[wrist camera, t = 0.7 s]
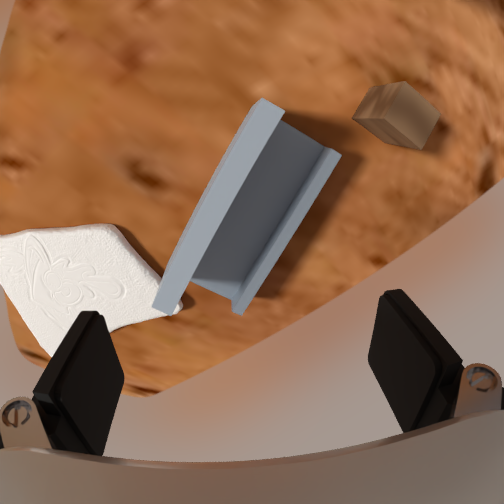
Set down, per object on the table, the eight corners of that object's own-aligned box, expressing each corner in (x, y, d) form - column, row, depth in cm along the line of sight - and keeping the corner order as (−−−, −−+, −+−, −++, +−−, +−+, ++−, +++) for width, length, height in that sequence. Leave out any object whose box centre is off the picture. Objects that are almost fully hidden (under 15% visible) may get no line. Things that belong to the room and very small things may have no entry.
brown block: (369, 87, 31) (404, 81, 23) (406, 116, 32) (445, 118, 25) (351, 118, 32) (383, 118, 25) (389, 146, 34) (426, 154, 26)
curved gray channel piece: (252, 106, 31) (262, 97, 22) (328, 151, 33) (364, 162, 24) (168, 262, 37) (151, 307, 28) (239, 295, 39) (244, 346, 30)
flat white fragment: (59, 347, 43) (190, 306, 41) (51, 362, 40) (187, 323, 38) (-13, 237, 35) (111, 155, 32) (-27, 247, 31) (99, 161, 29)
